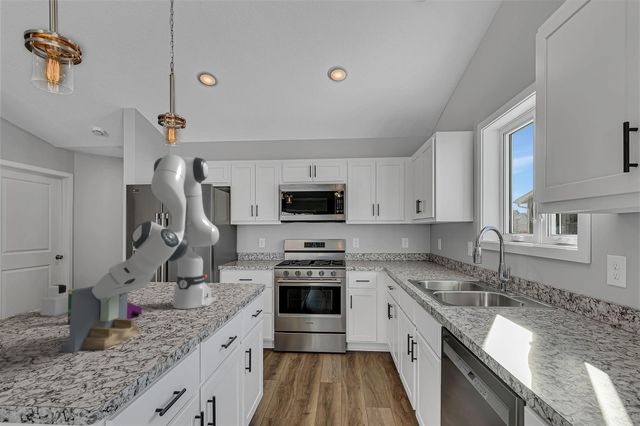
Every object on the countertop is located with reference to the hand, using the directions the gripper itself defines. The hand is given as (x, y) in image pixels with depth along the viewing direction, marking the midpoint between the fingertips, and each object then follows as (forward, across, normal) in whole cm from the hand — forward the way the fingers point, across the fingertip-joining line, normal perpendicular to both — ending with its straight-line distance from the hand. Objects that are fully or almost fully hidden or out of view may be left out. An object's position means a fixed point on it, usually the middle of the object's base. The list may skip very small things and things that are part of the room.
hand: (109, 299), depth 100 cm
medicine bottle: (+43, -24, -24) cm, 55 cm away
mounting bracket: (+19, -20, +1) cm, 28 cm away
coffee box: (+28, -15, -9) cm, 33 cm away
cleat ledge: (+8, 0, +10) cm, 13 cm away
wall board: (+13, 0, +6) cm, 14 cm away
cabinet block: (+4, 0, +5) cm, 6 cm away
